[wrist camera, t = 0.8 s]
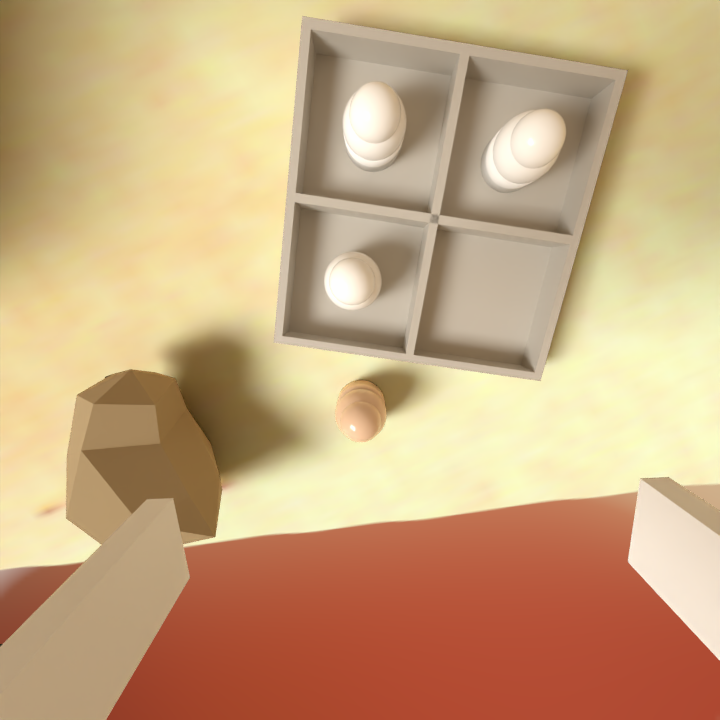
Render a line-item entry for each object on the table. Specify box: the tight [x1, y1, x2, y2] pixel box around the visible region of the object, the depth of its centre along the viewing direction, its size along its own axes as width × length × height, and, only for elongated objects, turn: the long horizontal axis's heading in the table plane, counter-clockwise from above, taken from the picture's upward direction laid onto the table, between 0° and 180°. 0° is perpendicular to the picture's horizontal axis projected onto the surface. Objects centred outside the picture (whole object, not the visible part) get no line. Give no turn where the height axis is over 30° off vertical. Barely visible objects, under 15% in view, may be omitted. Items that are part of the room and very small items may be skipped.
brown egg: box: [335, 380, 386, 442], centre depth 28 cm, size 4×4×6 cm
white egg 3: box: [481, 108, 566, 193], centre depth 22 cm, size 4×4×6 cm
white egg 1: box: [343, 81, 407, 172], centre depth 22 cm, size 4×4×6 cm
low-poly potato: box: [66, 370, 222, 544], centre depth 27 cm, size 15×11×12 cm
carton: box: [274, 16, 628, 381], centre depth 25 cm, size 21×21×3 cm
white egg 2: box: [324, 251, 382, 311], centre depth 25 cm, size 4×4×6 cm
